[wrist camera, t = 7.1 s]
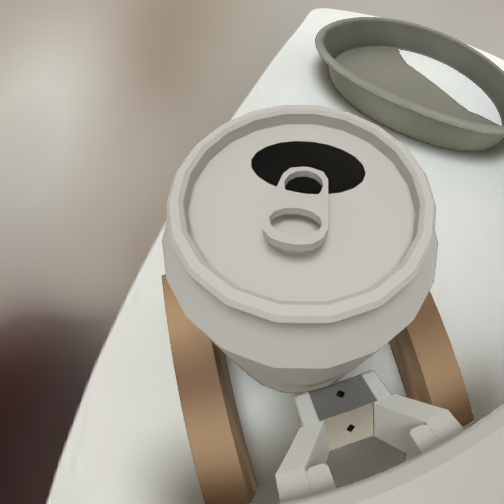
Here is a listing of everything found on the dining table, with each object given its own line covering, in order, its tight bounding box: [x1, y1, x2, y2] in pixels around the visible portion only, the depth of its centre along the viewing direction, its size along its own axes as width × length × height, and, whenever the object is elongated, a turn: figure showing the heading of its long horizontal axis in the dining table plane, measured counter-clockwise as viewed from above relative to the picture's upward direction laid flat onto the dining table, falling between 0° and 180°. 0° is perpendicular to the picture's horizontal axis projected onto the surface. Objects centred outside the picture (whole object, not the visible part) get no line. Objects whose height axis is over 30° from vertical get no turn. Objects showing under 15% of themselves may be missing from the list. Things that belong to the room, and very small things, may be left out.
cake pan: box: [315, 17, 504, 151], centre depth 26 cm, size 25×25×4 cm
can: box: [162, 105, 438, 393], centre depth 12 cm, size 8×8×12 cm
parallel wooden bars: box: [162, 275, 474, 504], centre depth 15 cm, size 12×13×3 cm
